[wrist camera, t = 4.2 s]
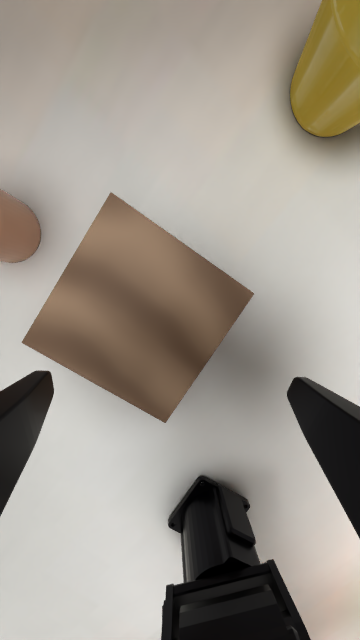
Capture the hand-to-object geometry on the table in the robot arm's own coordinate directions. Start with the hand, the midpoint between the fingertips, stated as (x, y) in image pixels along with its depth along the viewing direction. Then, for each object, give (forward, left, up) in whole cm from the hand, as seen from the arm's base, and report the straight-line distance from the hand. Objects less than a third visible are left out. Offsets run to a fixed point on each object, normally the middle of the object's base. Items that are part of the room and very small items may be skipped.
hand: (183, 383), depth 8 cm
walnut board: (-1, +3, -12) cm, 12 cm away
